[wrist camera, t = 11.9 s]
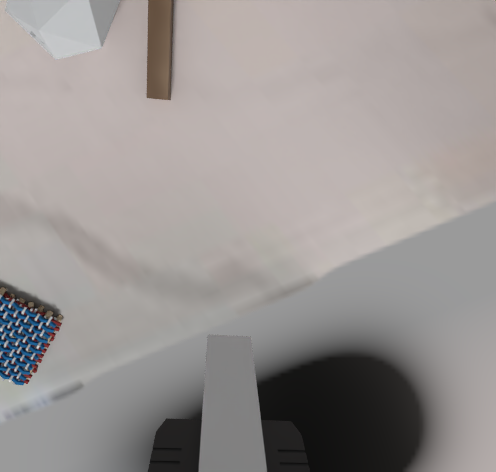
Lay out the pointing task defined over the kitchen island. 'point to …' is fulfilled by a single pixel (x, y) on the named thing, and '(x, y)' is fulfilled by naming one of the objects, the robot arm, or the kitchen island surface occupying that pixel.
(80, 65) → the kitchen island surface
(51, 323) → the woven mat
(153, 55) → the walnut T rail
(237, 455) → the robot arm
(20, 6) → the die
